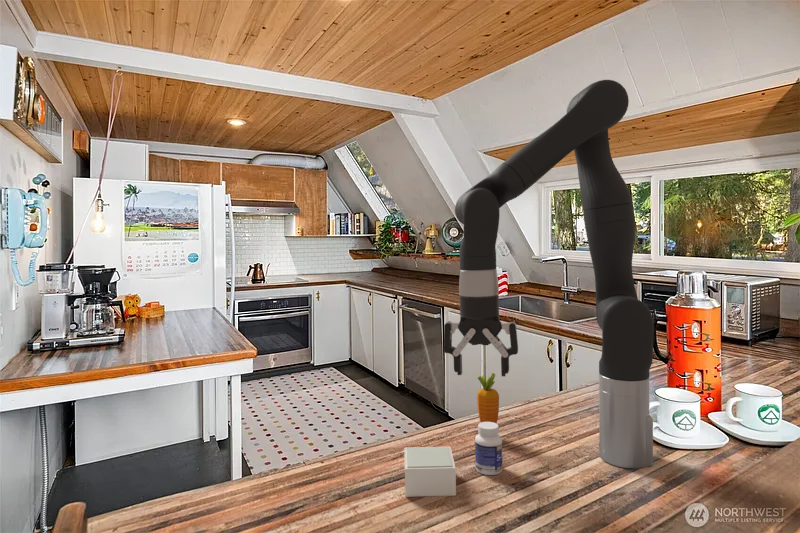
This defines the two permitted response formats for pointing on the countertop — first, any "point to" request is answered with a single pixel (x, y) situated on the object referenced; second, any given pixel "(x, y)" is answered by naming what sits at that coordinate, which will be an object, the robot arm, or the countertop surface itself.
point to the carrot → (488, 400)
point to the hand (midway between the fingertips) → (481, 374)
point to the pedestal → (429, 471)
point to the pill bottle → (488, 449)
